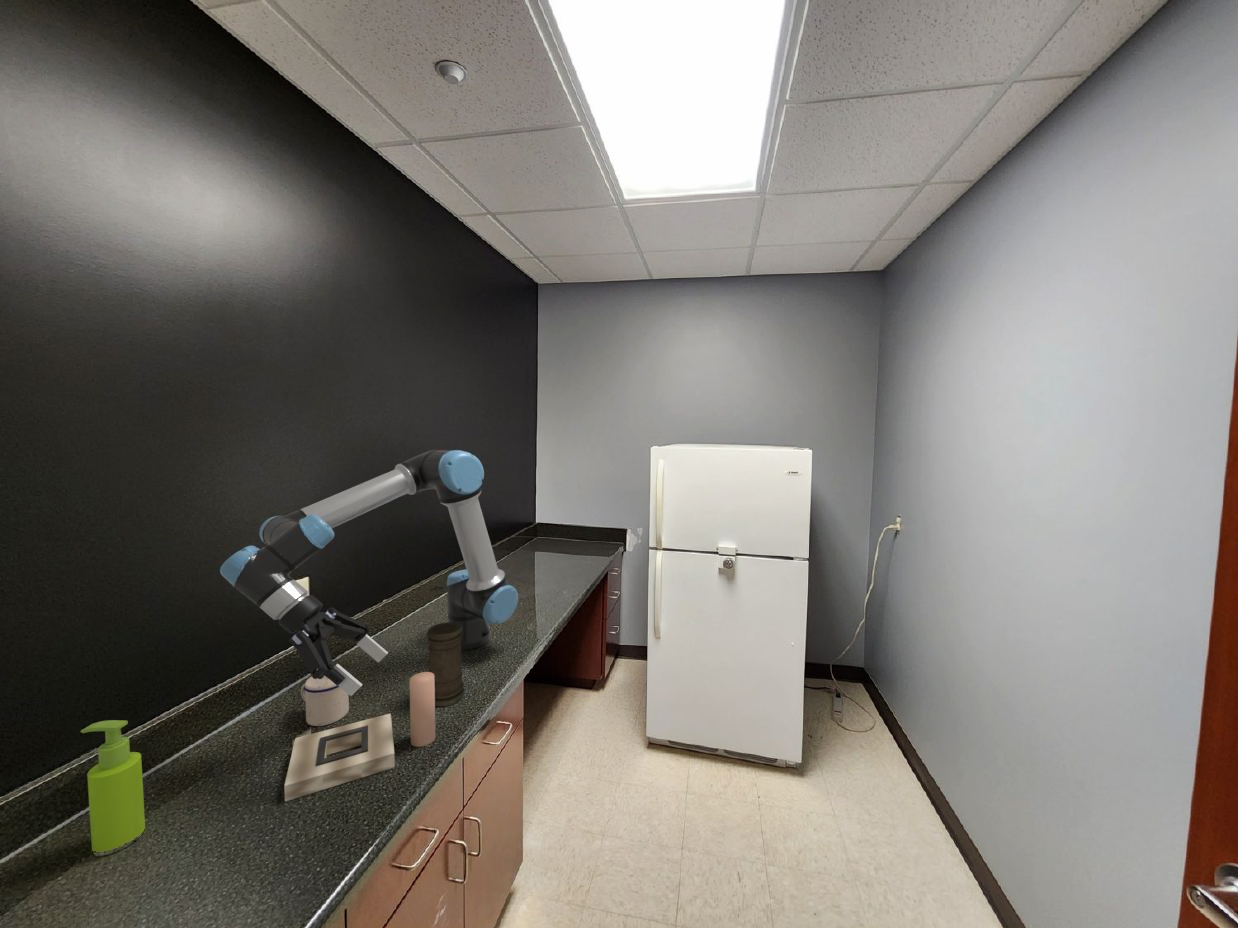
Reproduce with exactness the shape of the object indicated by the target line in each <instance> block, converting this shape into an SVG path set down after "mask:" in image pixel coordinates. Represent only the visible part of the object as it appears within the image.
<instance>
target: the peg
mask: <svg viewBox="0 0 1238 928" xmlns="http://www.w3.org/2000/svg"><path fill="white" fill-rule="evenodd" d="M409 717H410V719H409V720H410V725H409V726H410V745H411V746H413V747H414V748H415V747H416V748H422V747H426V746H428V745H430V744H432V743H433V742H434V741H435V739H436V706H435V681H434V674H433V673H431V672H430V671H423V672H419V673H416V674H414V675H412V676H411V677H410V678H409Z"/></svg>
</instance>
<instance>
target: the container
mask: <svg viewBox="0 0 1238 928" xmlns="http://www.w3.org/2000/svg"><path fill="white" fill-rule="evenodd" d="M426 631H427V632H426V636H427V639H428V659H429V661H428V662H429V664H428V665H429V670H428V672H431V673H433V674H434V681H435V707H447V706H451V705H454V704H455V703H457V702H459V701H461V699H462V698H463V696H464V694H465V688H464V685H465V684H464V682H463V672H462V650H461V632H462V626H461V625H460V624H458V623H453V622H447V621H446V622H440V623H437V624H434V625H433V626H431V627H429V628H428V630H426Z"/></svg>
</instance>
